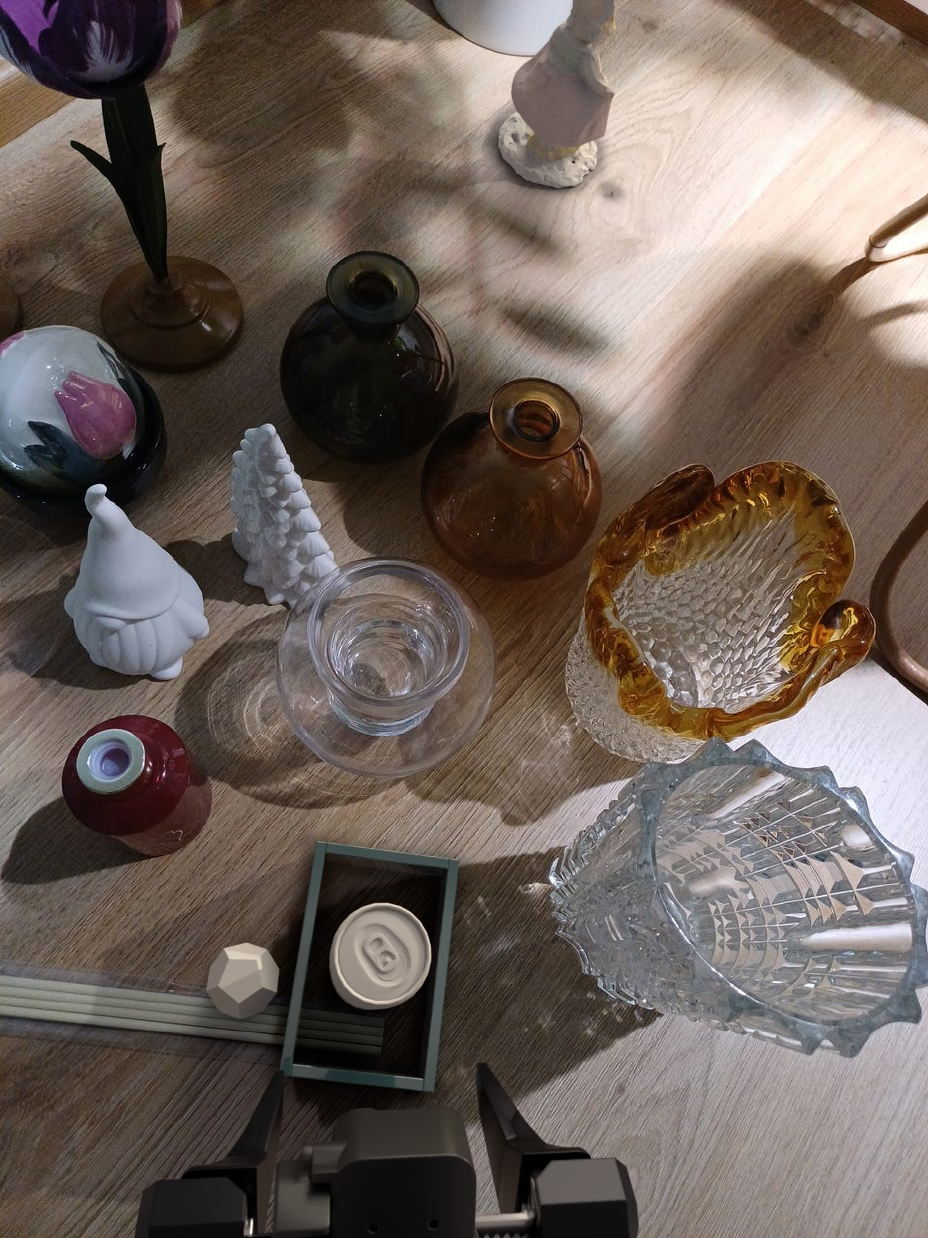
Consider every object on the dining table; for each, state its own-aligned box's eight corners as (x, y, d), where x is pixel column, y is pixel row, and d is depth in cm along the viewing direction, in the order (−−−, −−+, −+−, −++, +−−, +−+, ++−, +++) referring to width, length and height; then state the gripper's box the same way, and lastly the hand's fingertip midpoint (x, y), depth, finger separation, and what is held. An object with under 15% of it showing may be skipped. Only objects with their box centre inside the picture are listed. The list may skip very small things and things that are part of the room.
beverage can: (362, 1028, 59) (373, 1031, 48) (311, 959, 60) (309, 946, 49) (428, 971, 60) (453, 961, 49) (377, 905, 61) (391, 880, 50)
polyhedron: (216, 1026, 58) (211, 1027, 55) (202, 958, 59) (196, 954, 56) (287, 1004, 59) (286, 1003, 56) (272, 937, 60) (269, 932, 57)
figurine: (652, 128, 85) (688, 7, 70) (596, 232, 85) (620, 132, 70) (536, 70, 86) (547, -62, 71) (479, 173, 85) (479, 61, 70)
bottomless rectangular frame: (427, 1088, 58) (434, 1092, 55) (280, 1072, 57) (278, 1075, 54) (452, 867, 63) (459, 859, 59) (316, 850, 62) (316, 840, 59)
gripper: (719, 1281, 32) (601, 930, 46) (82, 1323, 29) (164, 939, 43) (664, 1489, 36) (572, 1112, 50) (108, 1542, 34) (175, 1129, 48)
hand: (381, 1072), depth 48 cm, fingers open, 9 cm apart
